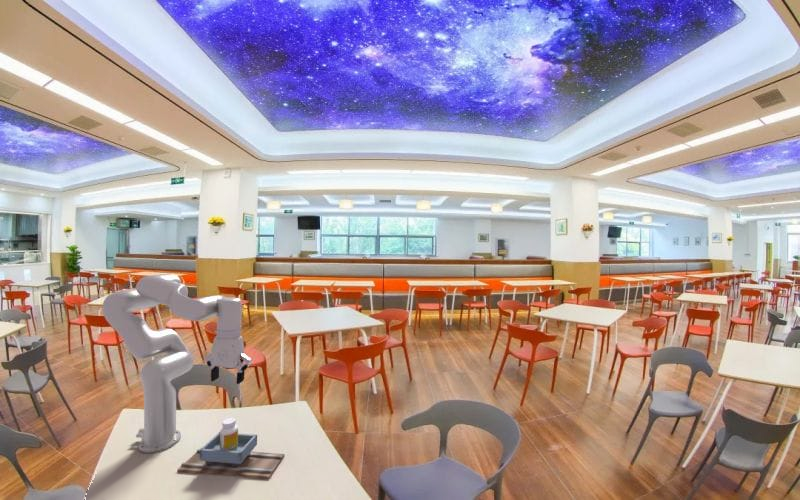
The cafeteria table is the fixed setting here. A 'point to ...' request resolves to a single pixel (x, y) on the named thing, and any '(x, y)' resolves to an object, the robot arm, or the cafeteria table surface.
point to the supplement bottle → (229, 435)
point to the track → (250, 467)
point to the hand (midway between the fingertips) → (227, 381)
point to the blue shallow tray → (214, 454)
